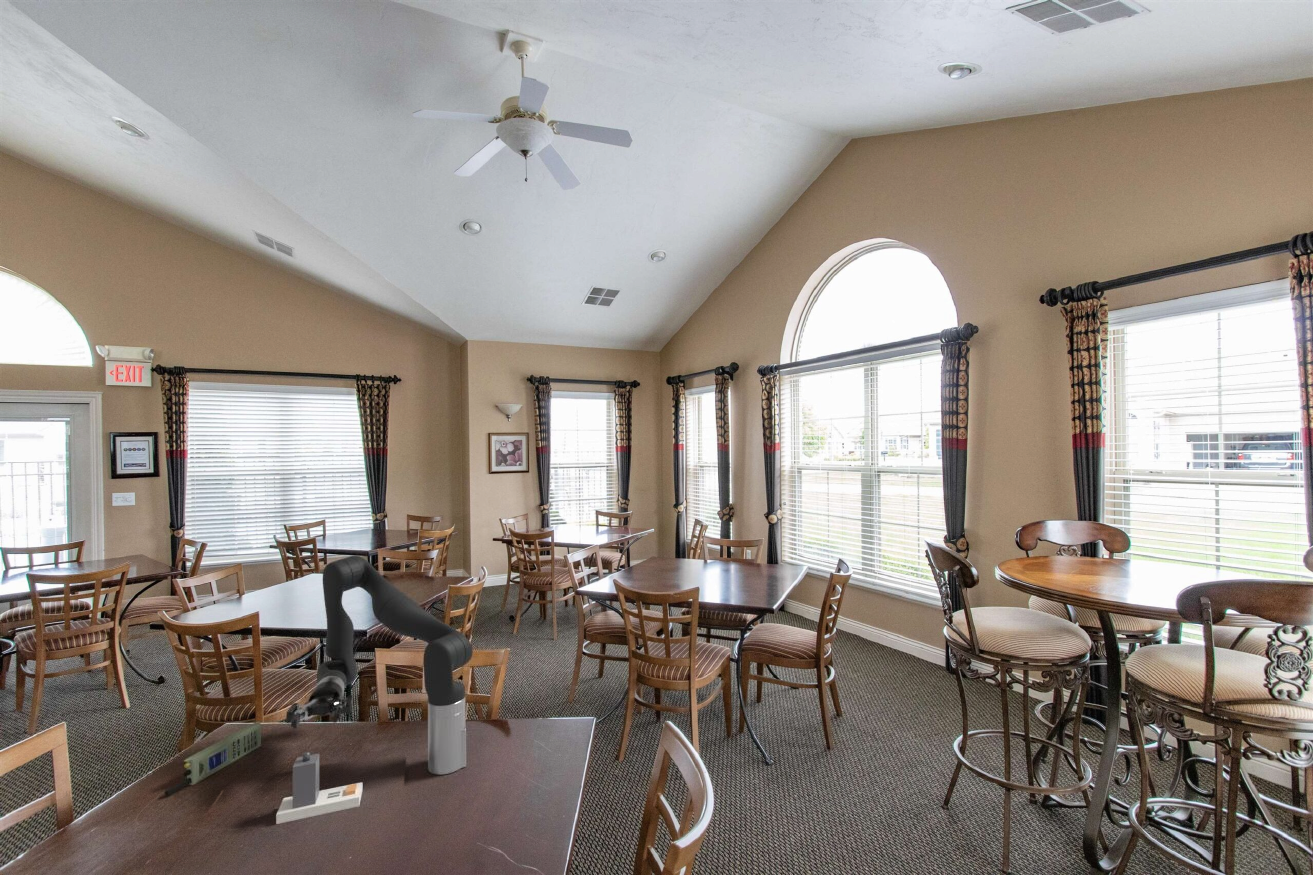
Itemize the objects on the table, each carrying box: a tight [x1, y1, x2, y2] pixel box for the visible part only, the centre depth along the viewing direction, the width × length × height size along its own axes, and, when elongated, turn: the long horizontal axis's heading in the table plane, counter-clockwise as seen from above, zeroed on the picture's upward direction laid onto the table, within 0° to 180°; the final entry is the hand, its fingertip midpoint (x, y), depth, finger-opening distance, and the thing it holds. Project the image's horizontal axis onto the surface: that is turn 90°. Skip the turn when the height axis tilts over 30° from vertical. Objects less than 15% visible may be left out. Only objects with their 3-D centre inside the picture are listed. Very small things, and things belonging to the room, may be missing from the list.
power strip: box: [275, 782, 363, 825], centre depth 129 cm, size 22×6×4 cm, turn 112°
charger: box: [292, 751, 320, 809], centre depth 127 cm, size 4×4×13 cm
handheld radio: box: [164, 722, 262, 797], centre depth 147 cm, size 7×3×25 cm
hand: (315, 721), depth 138 cm, fingers open, 8 cm apart
